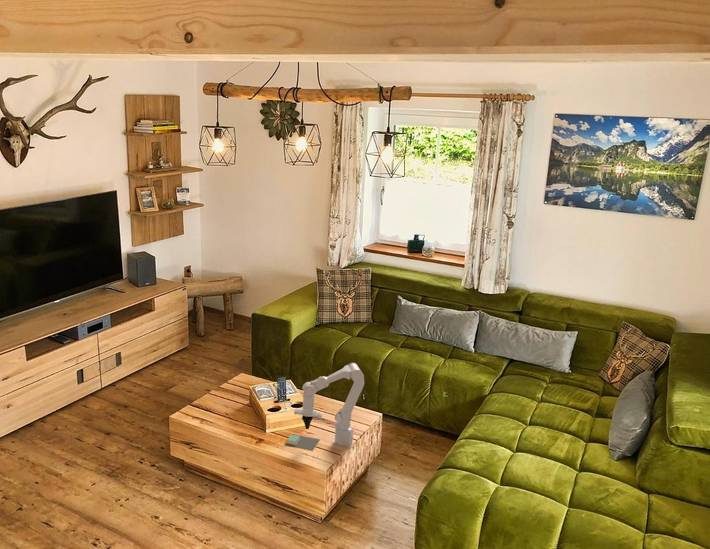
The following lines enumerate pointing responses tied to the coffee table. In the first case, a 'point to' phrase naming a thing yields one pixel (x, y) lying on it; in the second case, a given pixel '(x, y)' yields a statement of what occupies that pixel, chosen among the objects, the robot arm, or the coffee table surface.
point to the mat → (305, 443)
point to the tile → (293, 439)
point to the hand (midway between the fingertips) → (307, 428)
